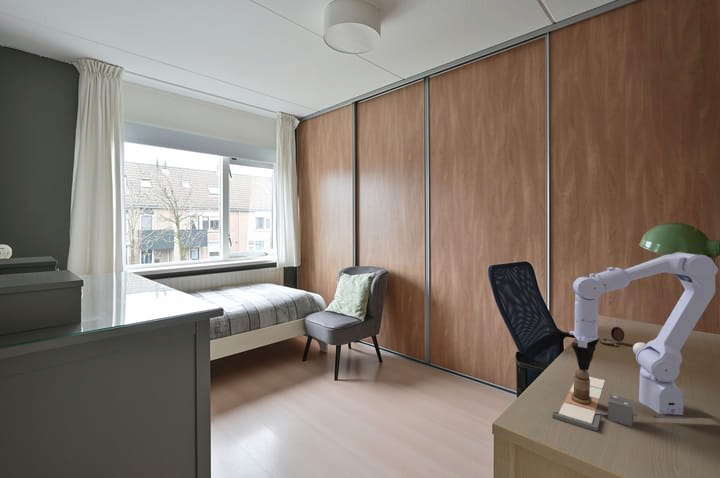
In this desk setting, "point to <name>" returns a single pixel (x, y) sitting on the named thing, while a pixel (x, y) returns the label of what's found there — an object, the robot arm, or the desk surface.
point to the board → (580, 414)
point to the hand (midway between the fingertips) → (585, 365)
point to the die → (620, 410)
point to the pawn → (581, 387)
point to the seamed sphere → (638, 347)
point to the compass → (614, 337)
